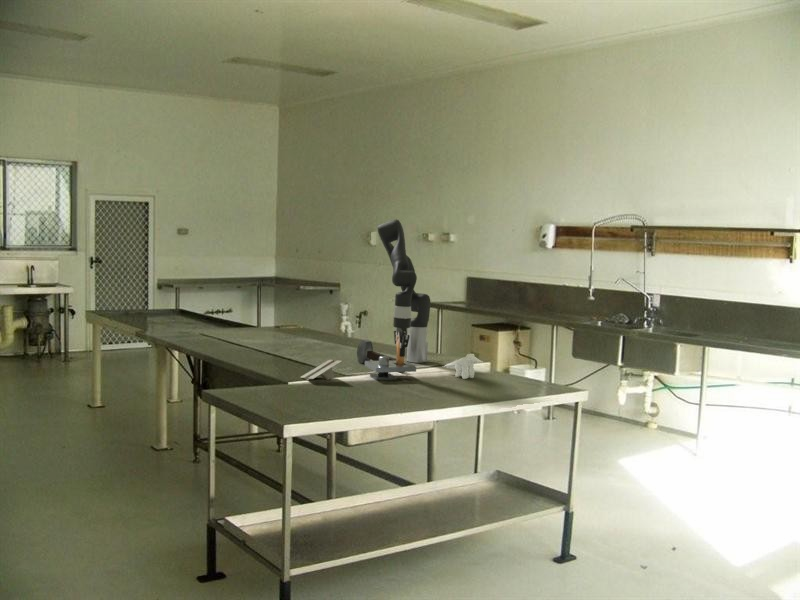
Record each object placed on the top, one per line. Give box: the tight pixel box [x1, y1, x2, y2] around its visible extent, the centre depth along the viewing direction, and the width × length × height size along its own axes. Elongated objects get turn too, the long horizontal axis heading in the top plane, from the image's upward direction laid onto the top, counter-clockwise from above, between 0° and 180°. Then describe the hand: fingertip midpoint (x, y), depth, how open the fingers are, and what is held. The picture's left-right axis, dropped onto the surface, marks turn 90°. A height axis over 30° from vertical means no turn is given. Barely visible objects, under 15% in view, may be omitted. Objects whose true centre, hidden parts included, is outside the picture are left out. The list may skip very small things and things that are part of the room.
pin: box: [395, 335, 405, 365], centre depth 365 cm, size 4×4×14 cm
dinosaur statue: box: [442, 353, 484, 380], centre depth 374 cm, size 7×24×11 cm, turn 44°
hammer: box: [356, 339, 403, 374], centre depth 388 cm, size 5×11×30 cm
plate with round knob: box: [364, 355, 417, 381], centre depth 365 cm, size 18×16×9 cm
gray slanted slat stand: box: [300, 359, 342, 381], centre depth 353 cm, size 16×9×15 cm
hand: (400, 355), depth 366 cm, fingers closed on pin, 3 cm apart
